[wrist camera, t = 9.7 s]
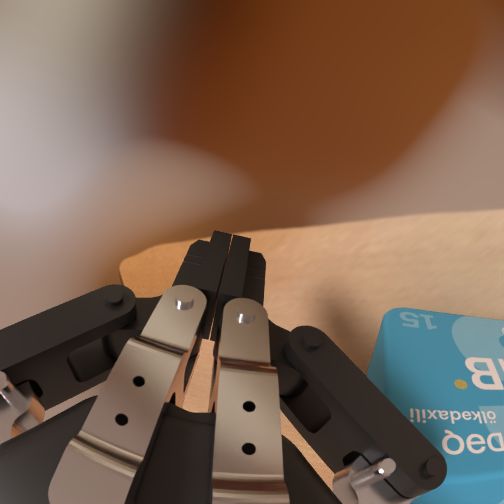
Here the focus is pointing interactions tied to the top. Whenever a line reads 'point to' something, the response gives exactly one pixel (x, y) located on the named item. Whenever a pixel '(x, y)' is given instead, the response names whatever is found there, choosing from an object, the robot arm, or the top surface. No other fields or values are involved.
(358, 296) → the top surface
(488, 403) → the data package
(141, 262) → the top surface
